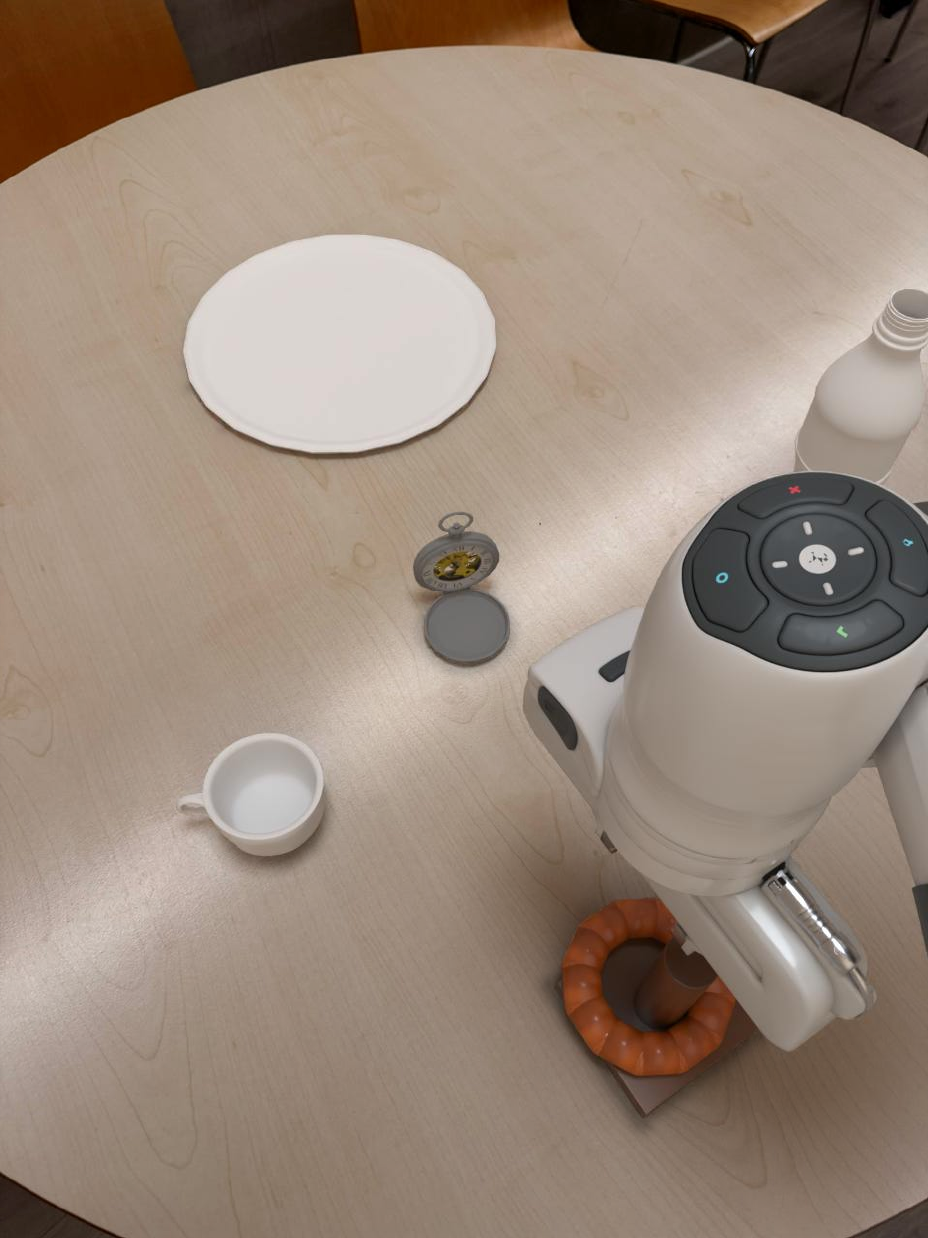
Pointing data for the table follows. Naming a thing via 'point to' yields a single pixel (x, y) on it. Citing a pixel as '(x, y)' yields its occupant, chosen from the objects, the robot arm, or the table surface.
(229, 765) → the teacup
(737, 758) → the robot arm
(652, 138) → the table surface
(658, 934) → the orange beaded ring
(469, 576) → the pocket watch
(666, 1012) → the stand
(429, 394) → the plate
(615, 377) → the table surface
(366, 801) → the table surface
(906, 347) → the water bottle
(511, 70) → the table surface
